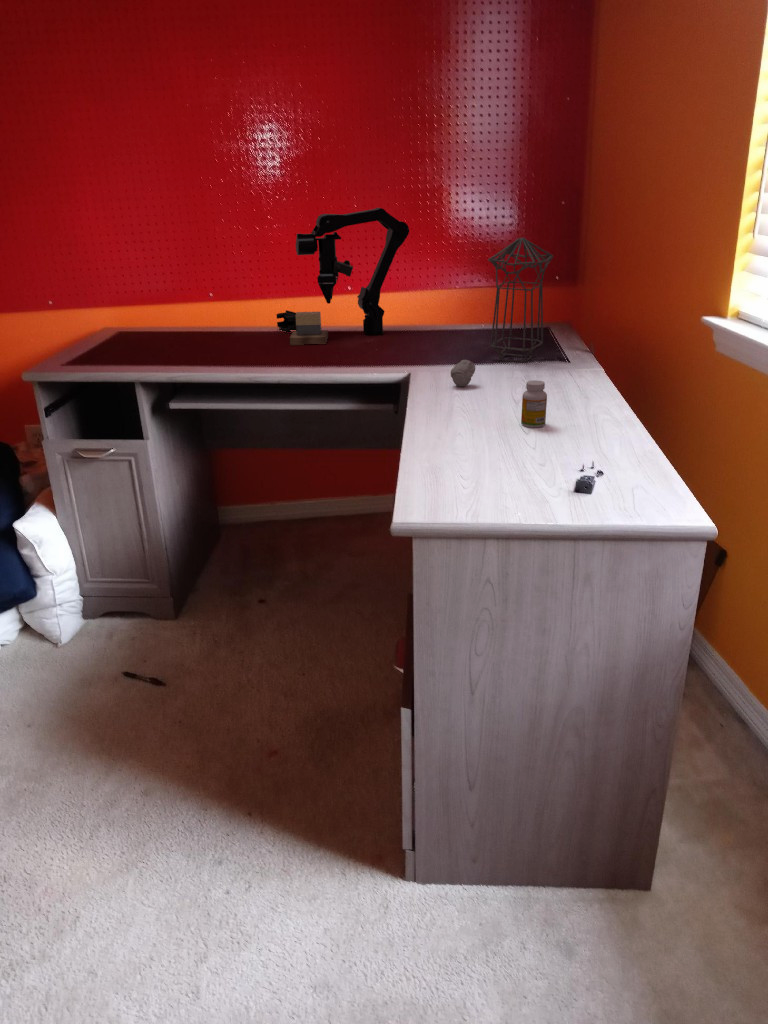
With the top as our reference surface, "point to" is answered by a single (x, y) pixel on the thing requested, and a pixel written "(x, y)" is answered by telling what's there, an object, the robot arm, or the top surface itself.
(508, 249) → the geometric lantern
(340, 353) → the top surface
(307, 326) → the block
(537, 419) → the supplement bottle
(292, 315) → the end cap
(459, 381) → the grey rock
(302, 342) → the walnut stand
